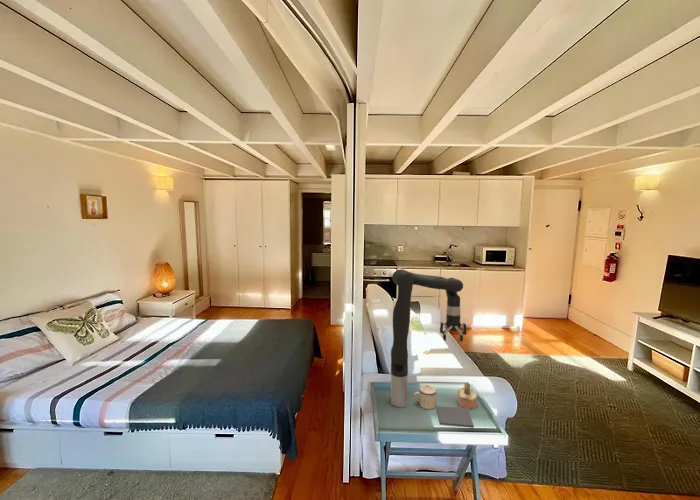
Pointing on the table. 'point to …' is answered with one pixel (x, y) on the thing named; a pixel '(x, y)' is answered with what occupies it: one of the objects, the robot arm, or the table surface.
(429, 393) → the teacup with lid
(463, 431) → the table surface
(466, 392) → the lid
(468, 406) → the bowl
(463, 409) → the mat
